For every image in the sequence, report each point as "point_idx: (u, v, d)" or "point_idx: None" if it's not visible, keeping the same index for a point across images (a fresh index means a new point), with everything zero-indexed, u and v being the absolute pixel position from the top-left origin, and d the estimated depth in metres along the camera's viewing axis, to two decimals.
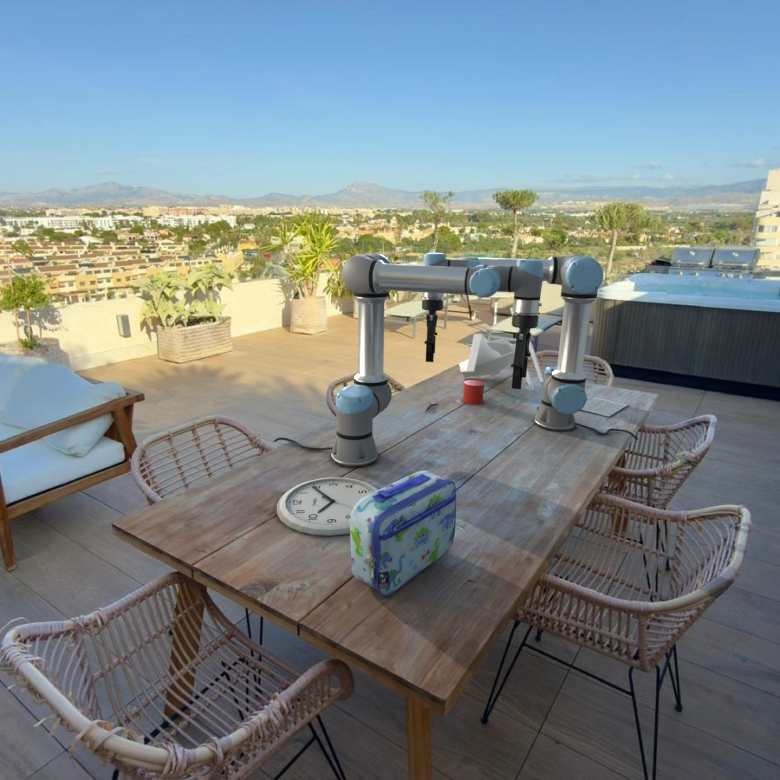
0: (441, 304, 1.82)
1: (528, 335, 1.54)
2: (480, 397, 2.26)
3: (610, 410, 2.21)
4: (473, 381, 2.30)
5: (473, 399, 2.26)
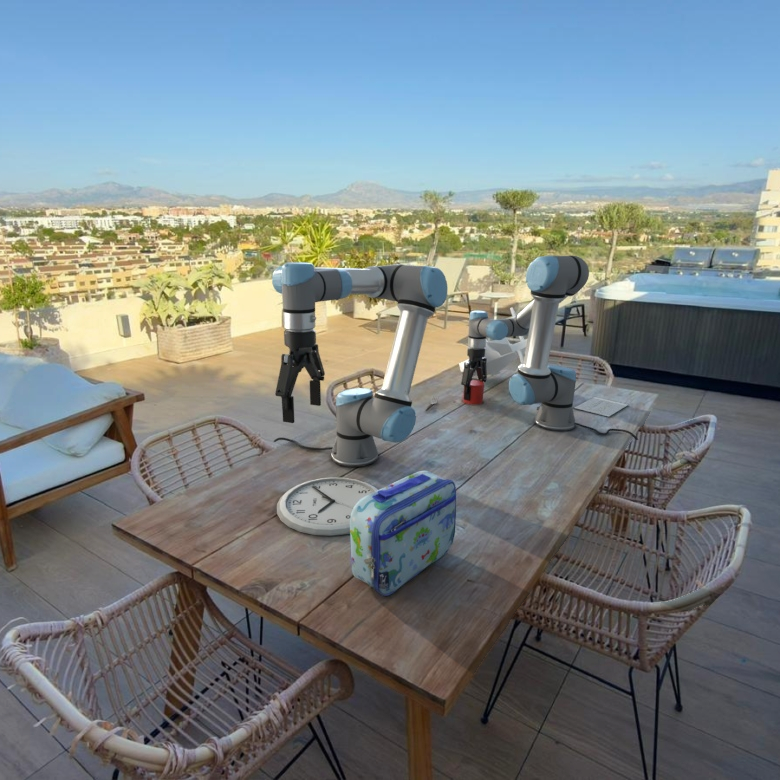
0: (479, 353, 2.20)
1: (302, 356, 1.24)
2: (480, 397, 2.26)
3: (610, 410, 2.21)
4: (473, 381, 2.30)
5: (473, 399, 2.26)
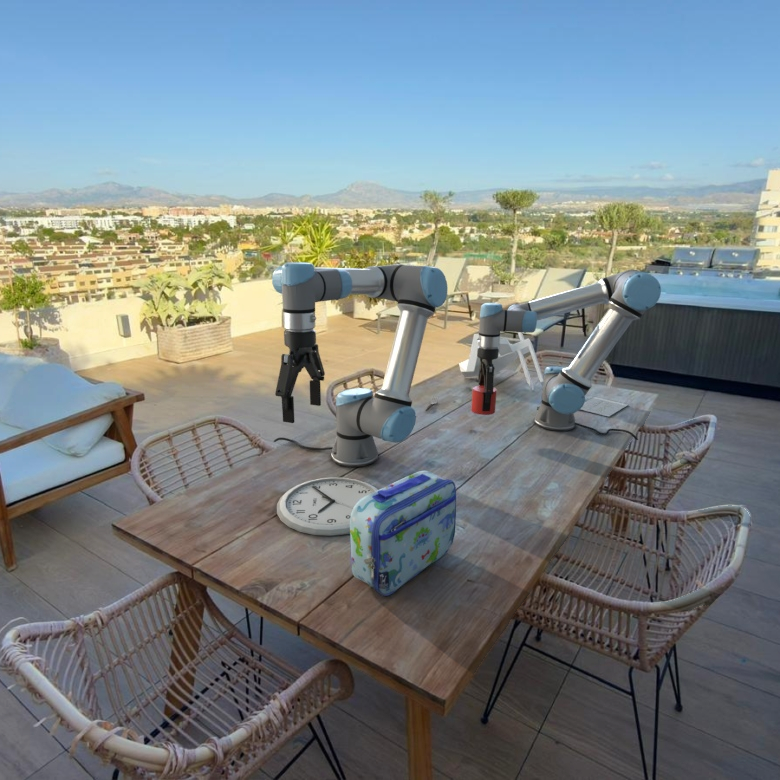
0: (497, 353, 1.86)
1: (302, 356, 1.24)
2: None
3: (610, 410, 2.21)
4: (480, 387, 1.93)
5: (492, 407, 1.90)
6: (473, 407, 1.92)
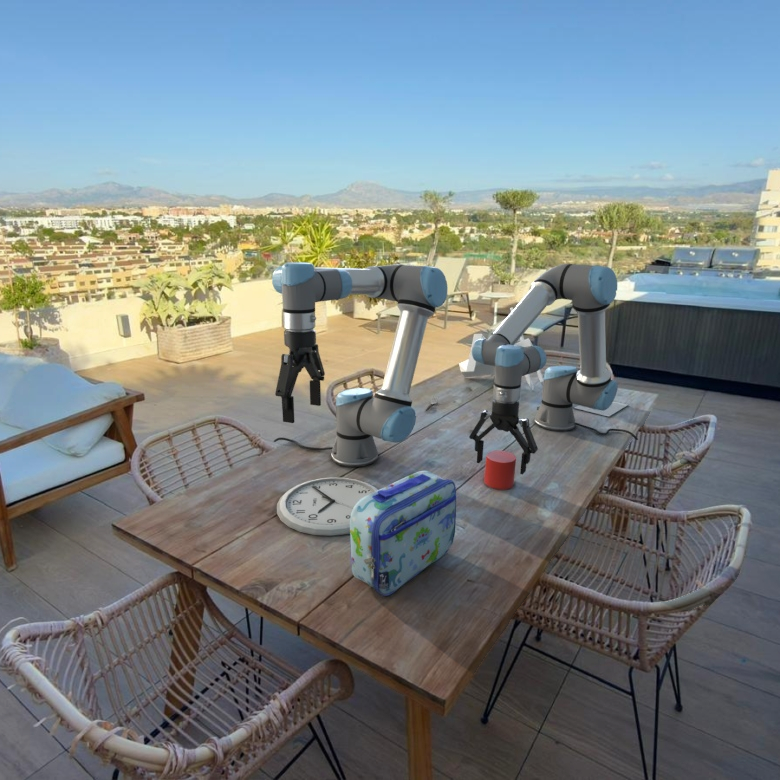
0: None
1: (302, 356, 1.24)
2: None
3: (610, 410, 2.21)
4: (495, 456, 1.54)
5: None
6: (499, 483, 1.53)
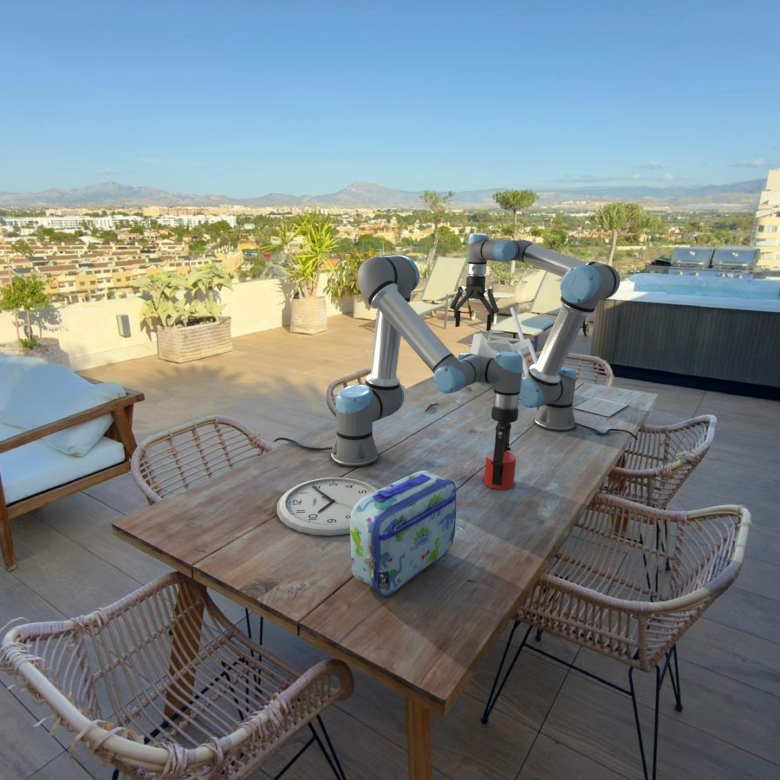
0: None
1: (508, 428, 1.50)
2: None
3: (610, 410, 2.21)
4: None
5: None
6: None
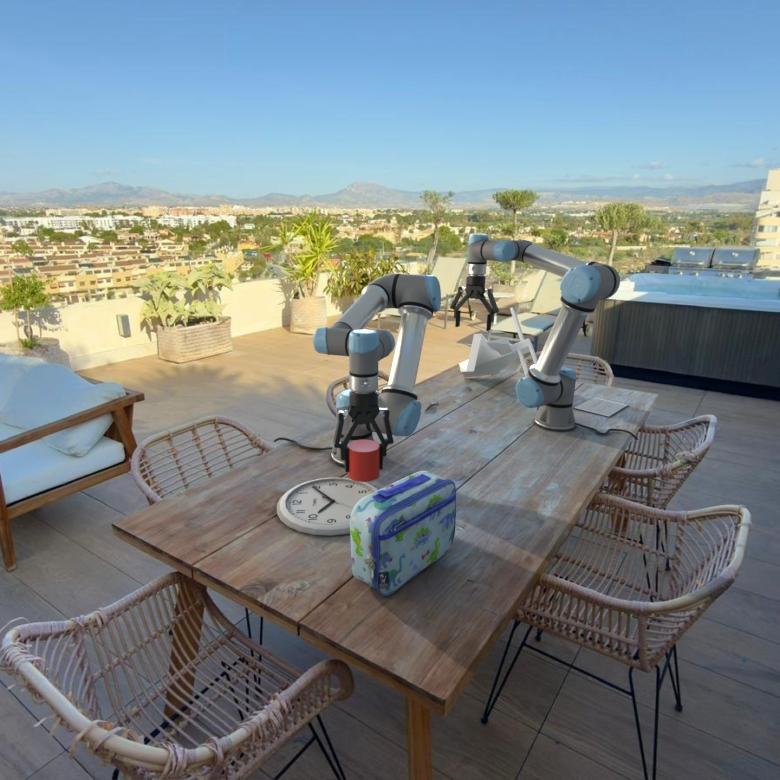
0: None
1: (358, 414, 1.36)
2: (379, 465, 1.42)
3: (610, 410, 2.21)
4: (359, 443, 1.42)
5: (373, 472, 1.39)
6: None
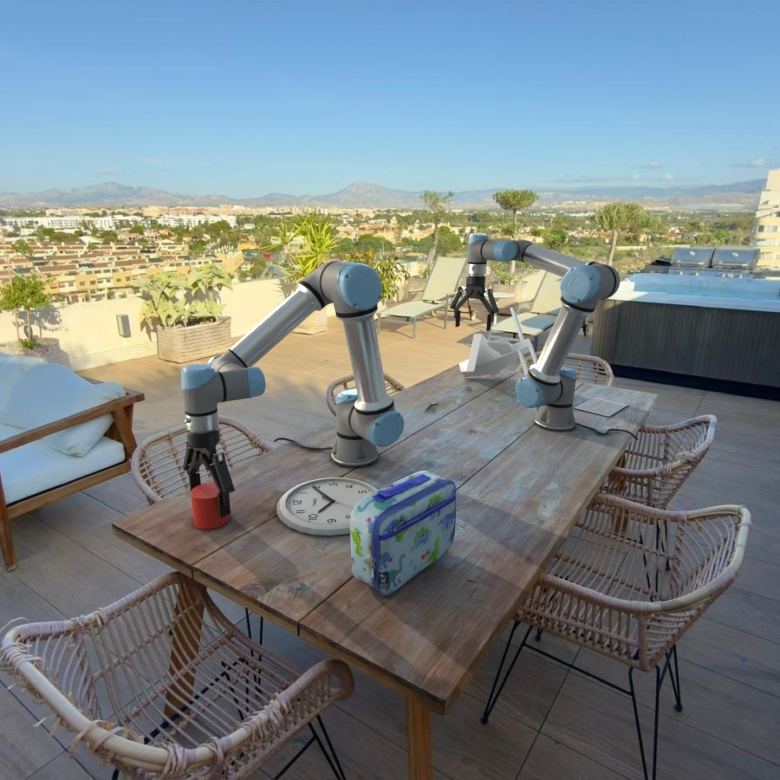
0: None
1: None
2: (213, 517, 1.30)
3: (610, 410, 2.21)
4: (212, 486, 1.34)
5: (200, 520, 1.30)
6: None
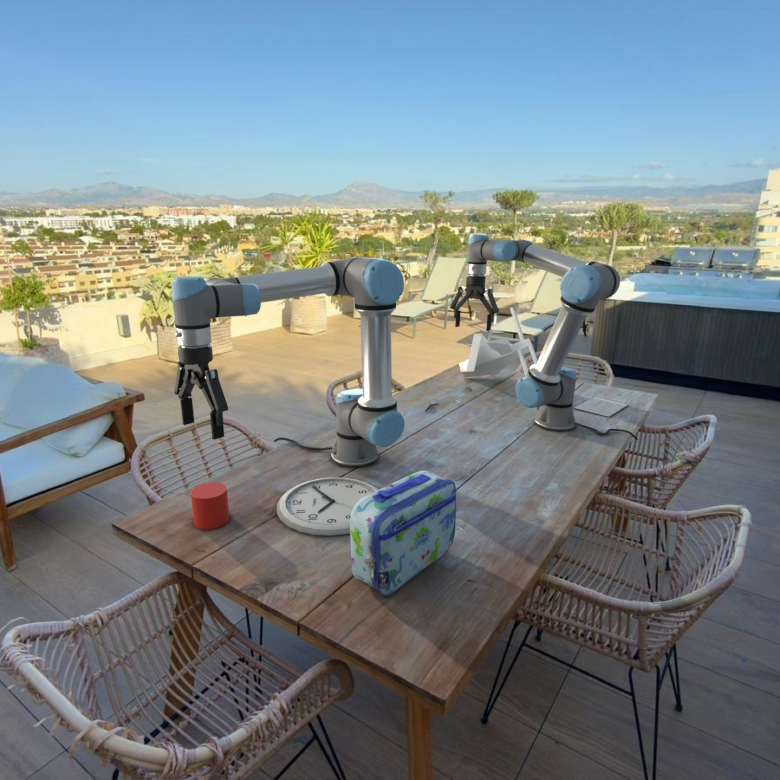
0: None
1: None
2: (213, 517, 1.30)
3: (610, 410, 2.21)
4: (212, 486, 1.34)
5: (200, 520, 1.30)
6: None
